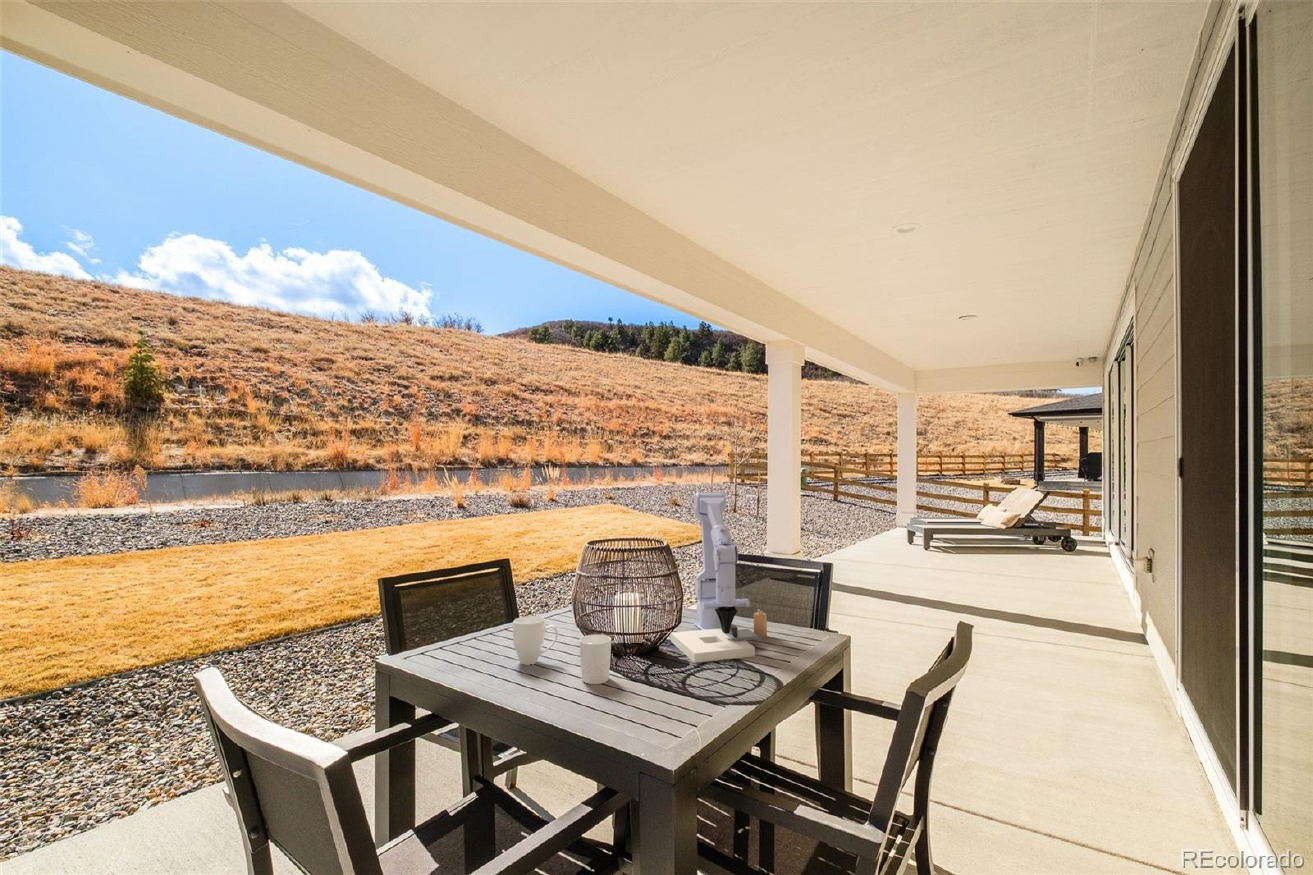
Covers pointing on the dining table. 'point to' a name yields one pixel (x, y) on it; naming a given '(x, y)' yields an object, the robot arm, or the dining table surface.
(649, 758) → the dining table surface
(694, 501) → the robot arm
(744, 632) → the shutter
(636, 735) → the dining table surface
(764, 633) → the plug peg
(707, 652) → the socket plate
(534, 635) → the mug
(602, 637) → the white cup
